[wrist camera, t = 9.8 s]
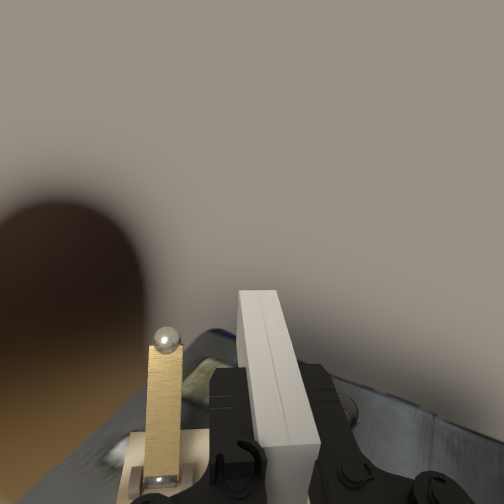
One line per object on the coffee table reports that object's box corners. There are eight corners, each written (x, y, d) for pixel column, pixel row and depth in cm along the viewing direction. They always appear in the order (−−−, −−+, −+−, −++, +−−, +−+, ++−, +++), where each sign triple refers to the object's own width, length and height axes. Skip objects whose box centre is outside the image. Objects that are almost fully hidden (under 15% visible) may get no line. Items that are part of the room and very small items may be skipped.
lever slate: (320, 486, 35) (371, 422, 25) (289, 488, 35) (329, 424, 25) (314, 455, 37) (359, 385, 27) (284, 457, 37) (319, 387, 27)
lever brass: (177, 494, 32) (183, 327, 34) (141, 497, 32) (149, 327, 34) (179, 478, 35) (184, 325, 37) (146, 481, 34) (152, 325, 36)
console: (355, 556, 32) (366, 531, 30) (105, 583, 29) (100, 556, 27) (318, 436, 43) (324, 413, 41) (132, 446, 40) (129, 421, 38)
